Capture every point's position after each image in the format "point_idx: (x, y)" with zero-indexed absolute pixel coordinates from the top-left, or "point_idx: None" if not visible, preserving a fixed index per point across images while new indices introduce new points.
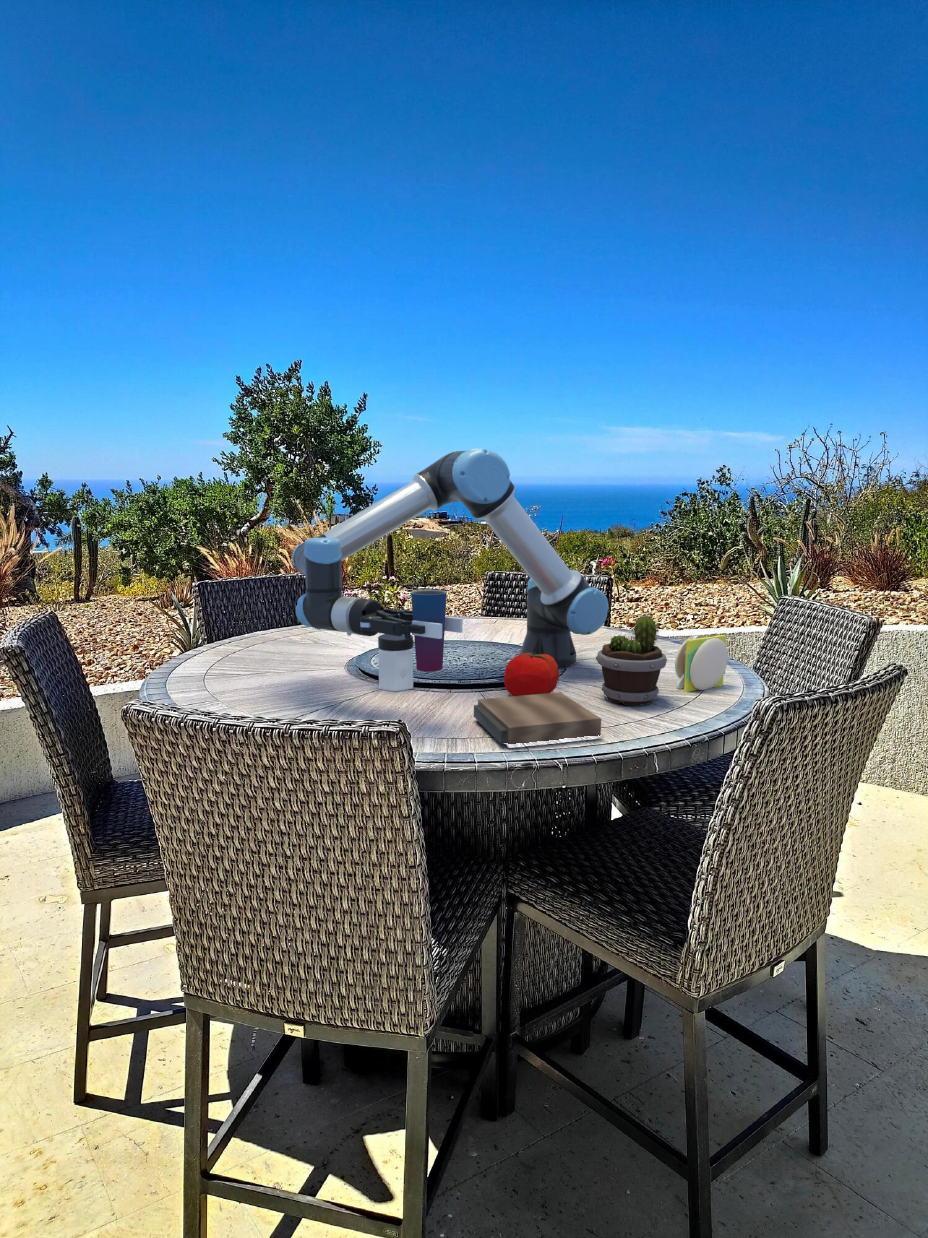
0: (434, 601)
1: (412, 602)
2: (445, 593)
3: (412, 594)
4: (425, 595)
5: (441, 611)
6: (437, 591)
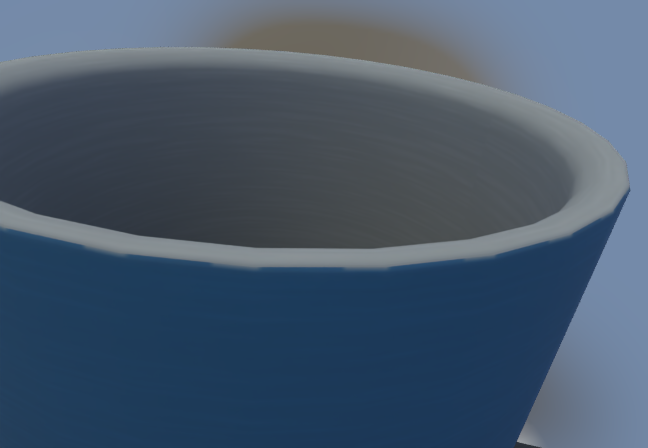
0: (440, 165)
1: (515, 411)
2: (288, 58)
3: (601, 235)
4: (550, 121)
5: (336, 248)
6: (30, 88)
